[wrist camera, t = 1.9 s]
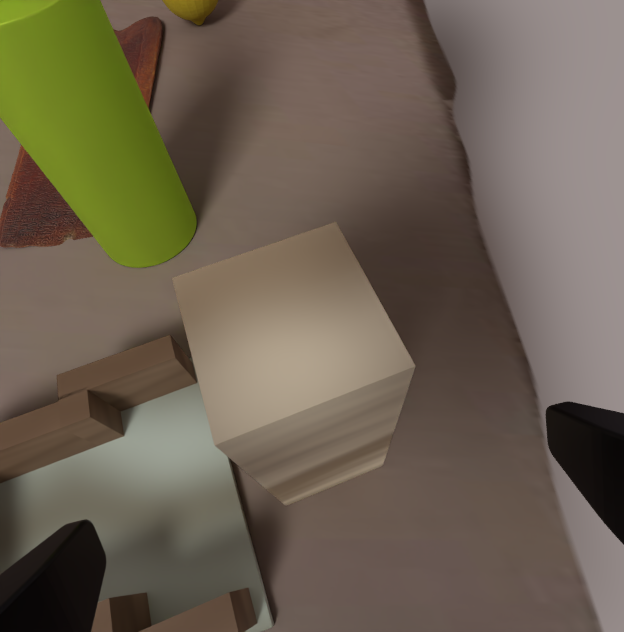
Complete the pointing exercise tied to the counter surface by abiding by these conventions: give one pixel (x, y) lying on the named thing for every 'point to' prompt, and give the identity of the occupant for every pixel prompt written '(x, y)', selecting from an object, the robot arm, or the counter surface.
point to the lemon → (192, 9)
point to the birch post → (295, 362)
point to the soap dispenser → (91, 128)
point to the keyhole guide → (136, 494)
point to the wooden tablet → (36, 189)
